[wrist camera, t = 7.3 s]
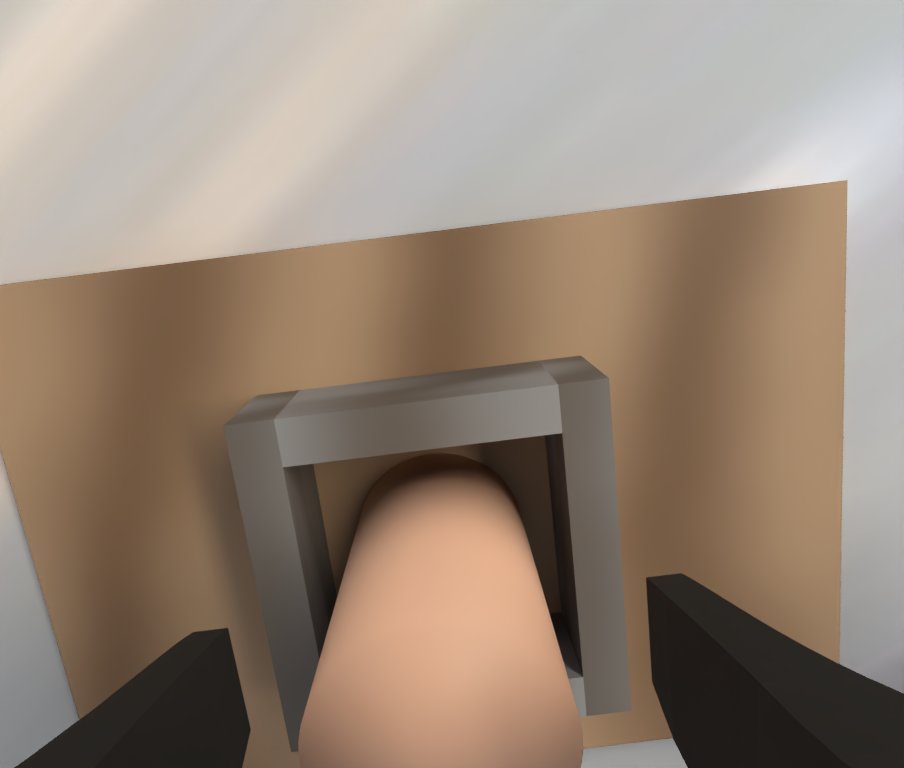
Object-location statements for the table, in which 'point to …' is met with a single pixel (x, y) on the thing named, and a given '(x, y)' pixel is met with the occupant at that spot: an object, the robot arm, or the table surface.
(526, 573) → the peg
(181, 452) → the socket base
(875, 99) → the table surface
